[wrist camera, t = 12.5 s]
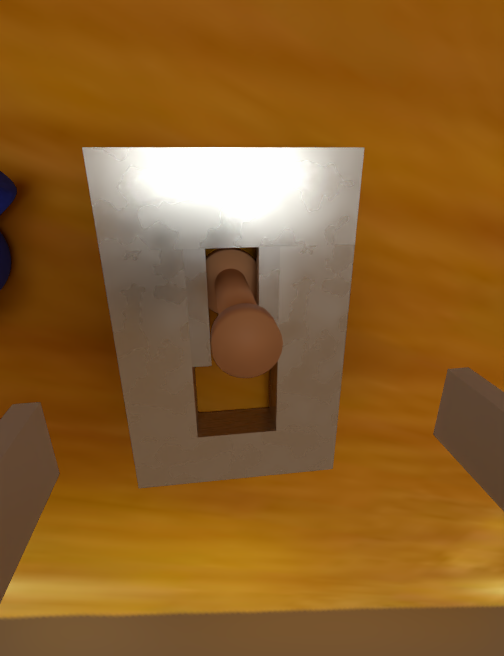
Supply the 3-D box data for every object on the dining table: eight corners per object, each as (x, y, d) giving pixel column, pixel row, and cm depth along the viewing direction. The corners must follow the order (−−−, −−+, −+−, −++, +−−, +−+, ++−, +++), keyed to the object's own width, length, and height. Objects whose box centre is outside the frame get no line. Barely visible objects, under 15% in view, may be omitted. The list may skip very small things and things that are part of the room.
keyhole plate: (321, 443, 36) (332, 468, 33) (144, 459, 34) (138, 488, 31) (344, 151, 26) (364, 147, 23) (97, 151, 24) (82, 147, 21)
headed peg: (199, 311, 29) (197, 395, 18) (195, 248, 27) (190, 298, 16) (260, 308, 30) (297, 388, 19) (261, 246, 28) (301, 293, 17)
